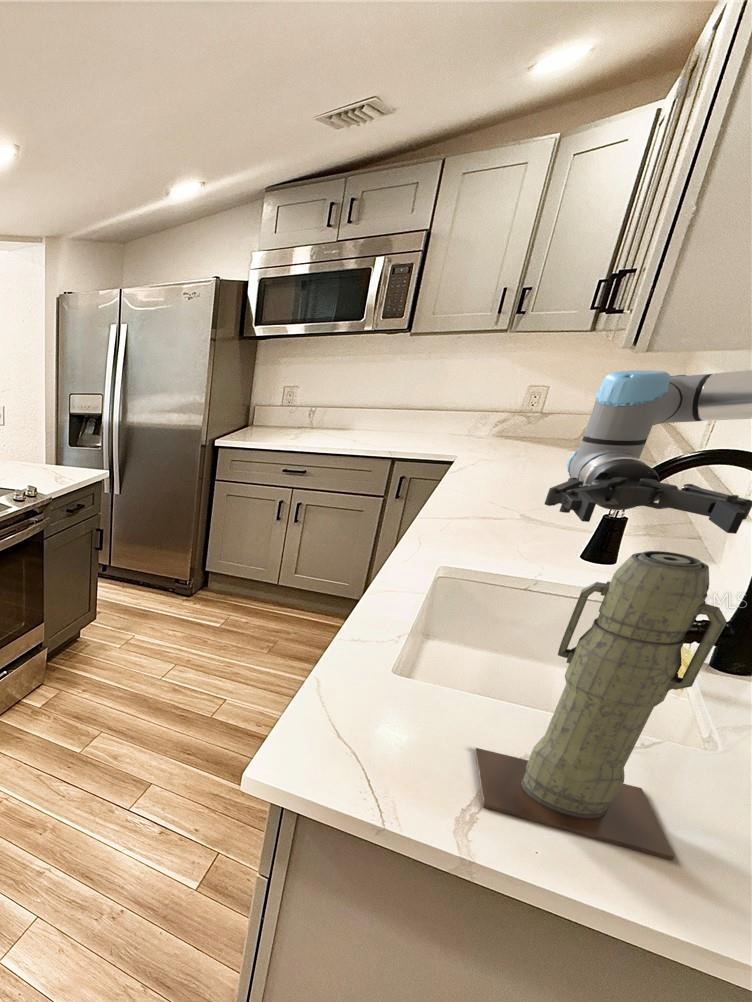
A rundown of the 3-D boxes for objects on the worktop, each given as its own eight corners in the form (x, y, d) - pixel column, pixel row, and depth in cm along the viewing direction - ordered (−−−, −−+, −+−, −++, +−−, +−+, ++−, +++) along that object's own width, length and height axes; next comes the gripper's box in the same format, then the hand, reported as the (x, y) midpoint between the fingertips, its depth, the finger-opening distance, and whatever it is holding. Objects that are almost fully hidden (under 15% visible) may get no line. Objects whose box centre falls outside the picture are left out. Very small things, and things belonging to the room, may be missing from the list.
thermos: (623, 836, 77) (756, 582, 63) (502, 791, 85) (596, 557, 71) (626, 799, 83) (750, 558, 68) (512, 761, 91) (601, 538, 76)
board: (640, 791, 85) (641, 787, 84) (672, 860, 74) (674, 857, 74) (474, 750, 94) (475, 747, 94) (482, 807, 84) (484, 803, 84)
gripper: (724, 512, 92) (791, 557, 76) (507, 497, 105) (526, 533, 89) (747, 462, 89) (822, 498, 73) (521, 453, 102) (543, 482, 86)
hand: (659, 517), depth 81 cm, fingers open, 13 cm apart
